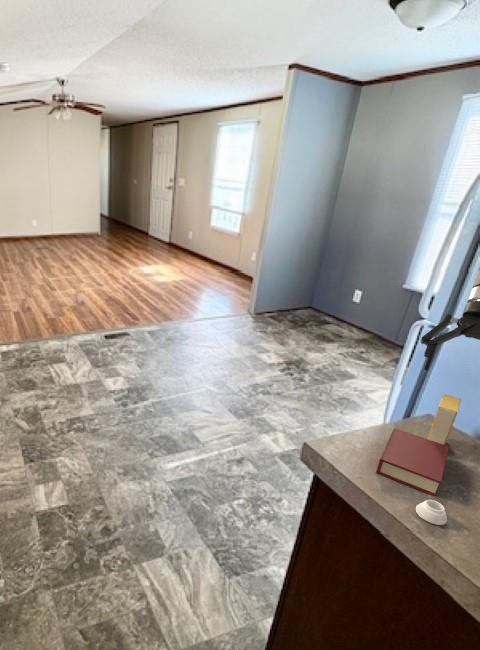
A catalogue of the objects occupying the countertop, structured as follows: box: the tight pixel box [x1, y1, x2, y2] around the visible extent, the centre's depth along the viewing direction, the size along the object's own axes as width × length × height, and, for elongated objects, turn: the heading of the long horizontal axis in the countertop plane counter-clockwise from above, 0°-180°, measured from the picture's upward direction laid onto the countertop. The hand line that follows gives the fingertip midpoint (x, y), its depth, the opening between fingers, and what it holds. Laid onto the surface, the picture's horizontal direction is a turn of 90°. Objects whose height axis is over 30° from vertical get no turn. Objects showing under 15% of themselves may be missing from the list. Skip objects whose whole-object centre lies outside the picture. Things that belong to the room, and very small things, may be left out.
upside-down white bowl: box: [415, 499, 448, 526], centre depth 84 cm, size 5×3×5 cm
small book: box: [426, 393, 462, 445], centre depth 104 cm, size 4×8×12 cm, turn 137°
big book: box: [375, 427, 450, 497], centre depth 98 cm, size 16×11×4 cm
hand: (459, 376), depth 108 cm, fingers open, 13 cm apart
